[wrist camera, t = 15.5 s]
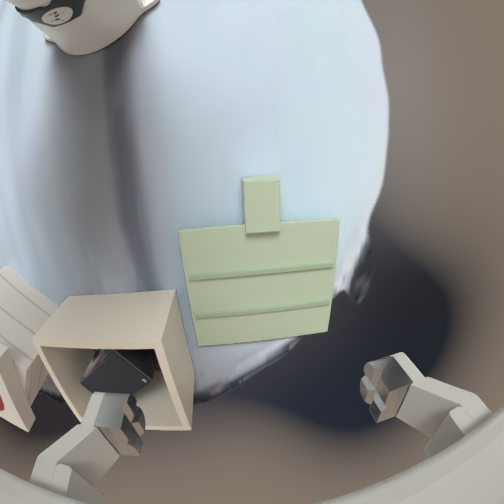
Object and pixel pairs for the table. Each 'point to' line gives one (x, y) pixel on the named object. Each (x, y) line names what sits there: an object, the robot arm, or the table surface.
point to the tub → (122, 337)
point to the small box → (120, 370)
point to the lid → (260, 272)
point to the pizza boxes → (20, 346)
